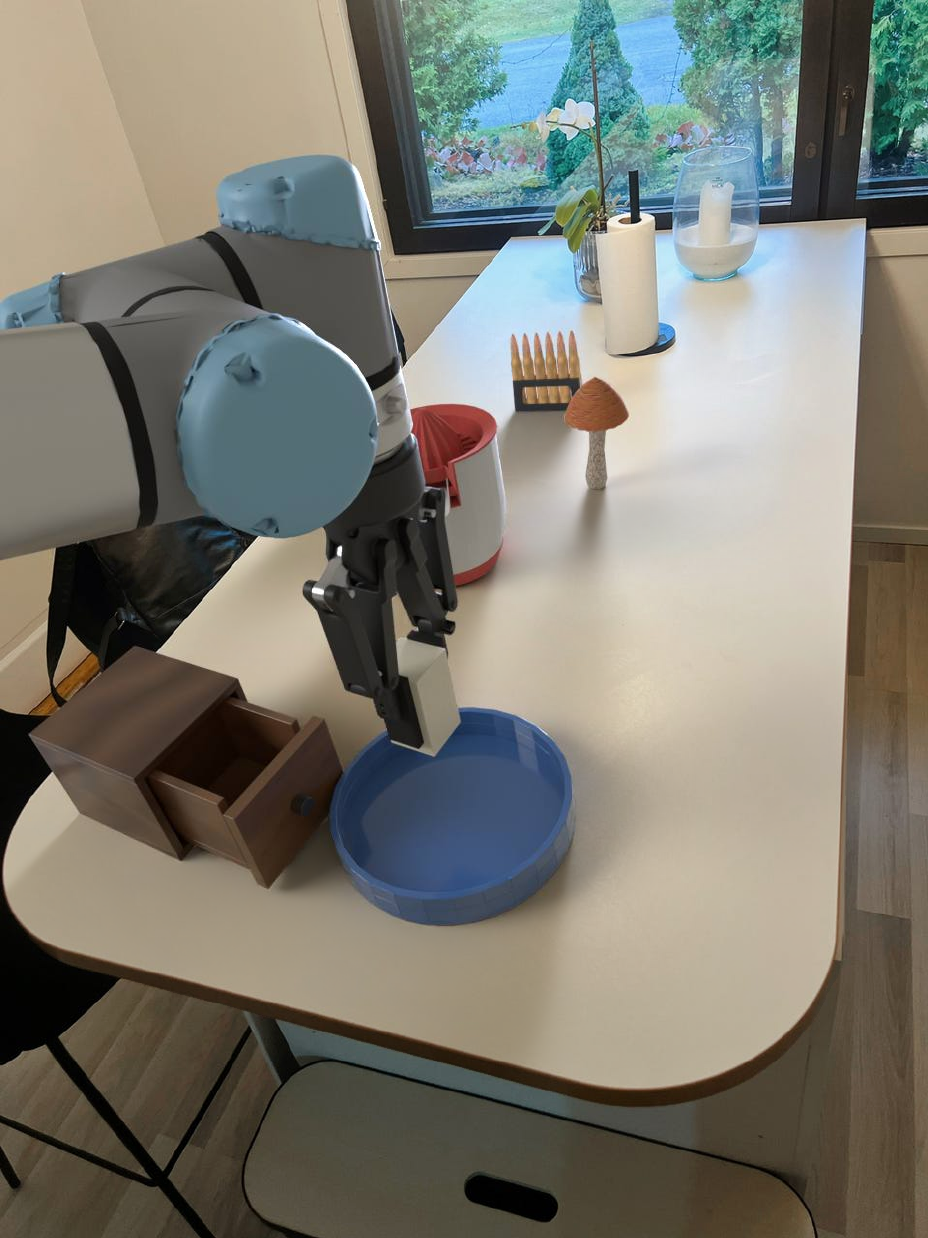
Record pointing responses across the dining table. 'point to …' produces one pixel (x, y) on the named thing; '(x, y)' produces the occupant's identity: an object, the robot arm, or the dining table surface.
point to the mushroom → (596, 423)
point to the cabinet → (130, 739)
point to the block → (429, 692)
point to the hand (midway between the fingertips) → (423, 719)
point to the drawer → (249, 786)
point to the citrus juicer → (464, 482)
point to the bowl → (455, 820)
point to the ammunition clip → (550, 383)
